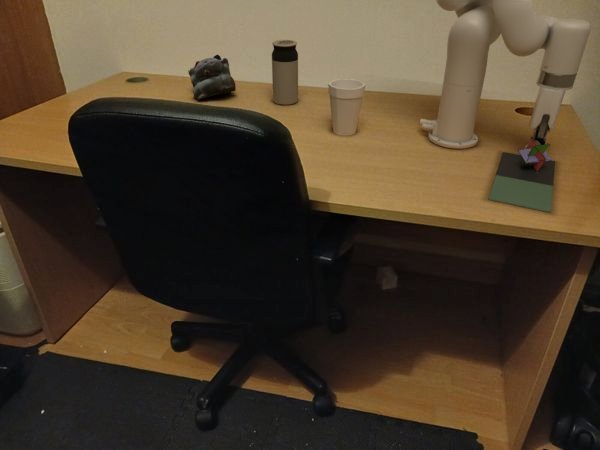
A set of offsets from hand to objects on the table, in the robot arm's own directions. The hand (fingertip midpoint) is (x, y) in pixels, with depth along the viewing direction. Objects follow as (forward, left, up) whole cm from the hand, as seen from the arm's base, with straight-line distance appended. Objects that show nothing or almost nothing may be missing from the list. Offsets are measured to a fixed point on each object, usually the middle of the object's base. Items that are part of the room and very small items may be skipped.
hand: (534, 153), depth 117 cm
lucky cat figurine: (-98, +5, -1) cm, 98 cm away
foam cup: (-48, -4, -1) cm, 48 cm away
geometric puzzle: (0, -7, -1) cm, 7 cm away
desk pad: (-1, -13, -1) cm, 13 cm away
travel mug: (-74, +11, -1) cm, 75 cm away
